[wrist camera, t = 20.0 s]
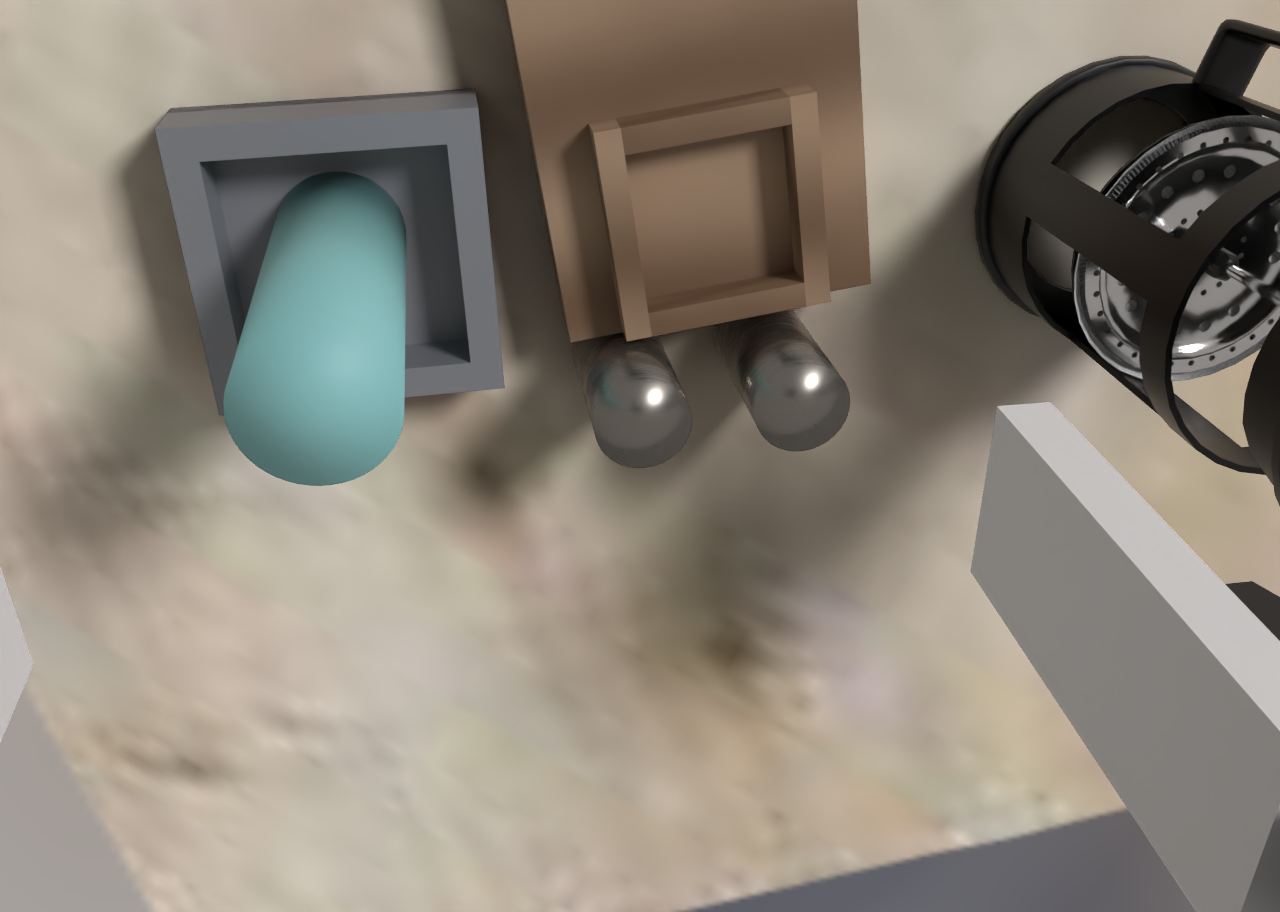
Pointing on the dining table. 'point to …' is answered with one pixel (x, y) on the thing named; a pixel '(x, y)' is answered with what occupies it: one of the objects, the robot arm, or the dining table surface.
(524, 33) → the brown flat block
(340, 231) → the dowel
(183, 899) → the dining table surface
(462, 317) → the tray
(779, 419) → the bench dogs
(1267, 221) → the french press
